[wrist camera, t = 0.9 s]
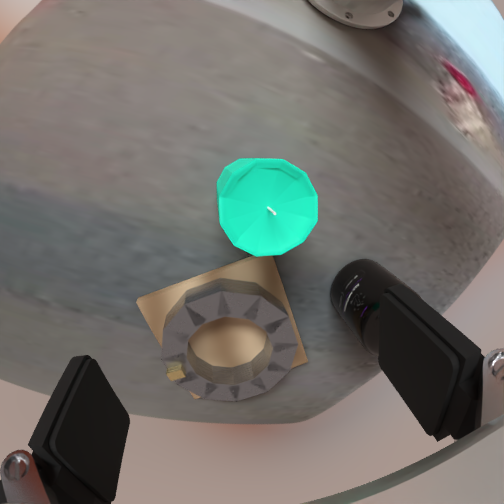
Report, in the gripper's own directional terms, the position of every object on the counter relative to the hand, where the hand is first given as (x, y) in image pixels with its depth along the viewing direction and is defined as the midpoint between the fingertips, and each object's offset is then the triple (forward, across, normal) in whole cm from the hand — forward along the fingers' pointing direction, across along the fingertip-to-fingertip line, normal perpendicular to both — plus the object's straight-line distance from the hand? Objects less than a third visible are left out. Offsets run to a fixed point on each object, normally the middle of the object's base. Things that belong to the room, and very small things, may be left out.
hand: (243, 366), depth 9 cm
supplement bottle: (+21, -12, +10) cm, 26 cm away
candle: (+21, -3, -2) cm, 21 cm away
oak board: (+20, +2, +12) cm, 23 cm away
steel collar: (+20, +2, +12) cm, 23 cm away
